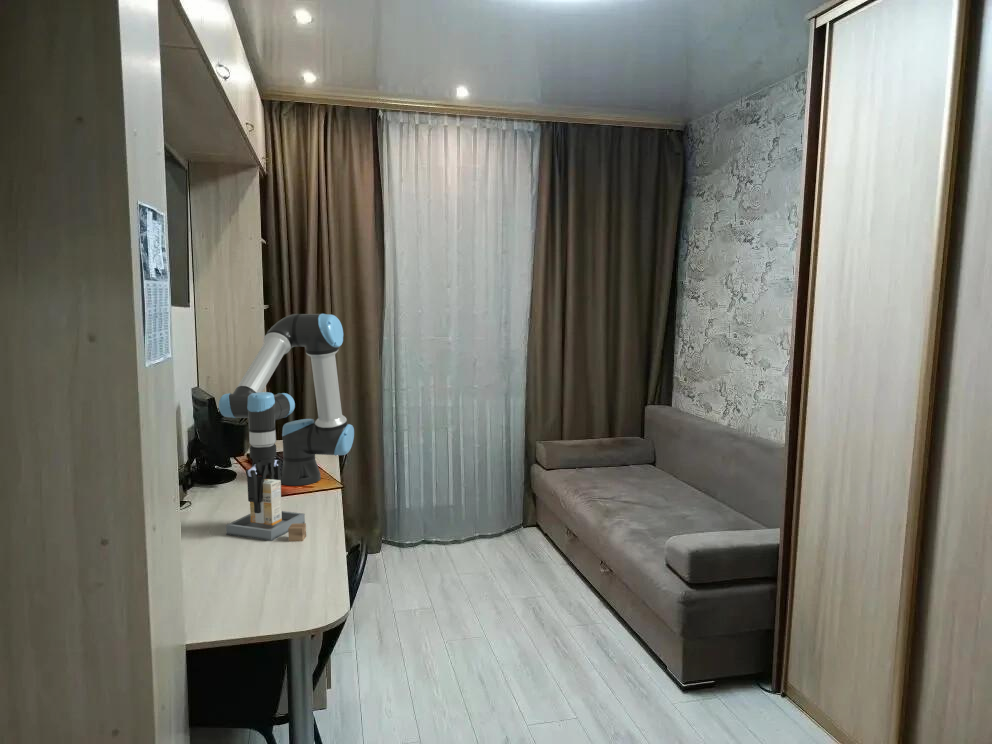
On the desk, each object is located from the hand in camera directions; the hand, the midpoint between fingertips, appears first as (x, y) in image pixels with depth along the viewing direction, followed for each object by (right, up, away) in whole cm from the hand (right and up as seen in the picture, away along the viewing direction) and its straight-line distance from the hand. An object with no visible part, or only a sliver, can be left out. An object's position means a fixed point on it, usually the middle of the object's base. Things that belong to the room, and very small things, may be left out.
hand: (266, 519), depth 199 cm
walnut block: (+12, -4, -8) cm, 15 cm away
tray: (0, -3, 0) cm, 3 cm away
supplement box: (0, -1, 0) cm, 1 cm away
